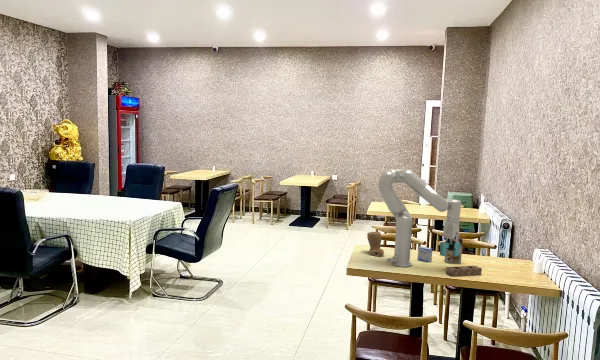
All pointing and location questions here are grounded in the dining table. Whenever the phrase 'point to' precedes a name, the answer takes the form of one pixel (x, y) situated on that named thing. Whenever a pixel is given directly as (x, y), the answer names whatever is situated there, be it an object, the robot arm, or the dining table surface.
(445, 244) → the clip
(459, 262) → the coffee box
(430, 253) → the medicine box
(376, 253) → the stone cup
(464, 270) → the brown wooden candle holder
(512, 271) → the dining table surface
